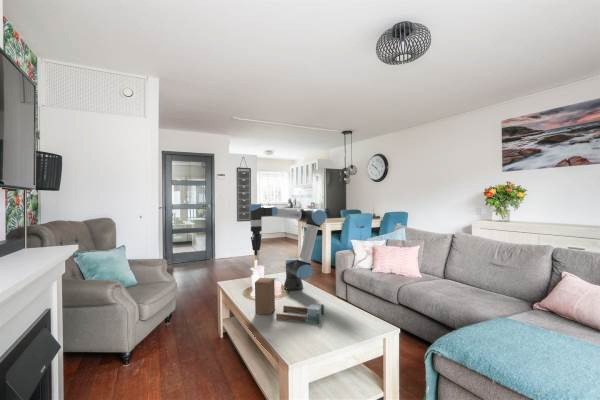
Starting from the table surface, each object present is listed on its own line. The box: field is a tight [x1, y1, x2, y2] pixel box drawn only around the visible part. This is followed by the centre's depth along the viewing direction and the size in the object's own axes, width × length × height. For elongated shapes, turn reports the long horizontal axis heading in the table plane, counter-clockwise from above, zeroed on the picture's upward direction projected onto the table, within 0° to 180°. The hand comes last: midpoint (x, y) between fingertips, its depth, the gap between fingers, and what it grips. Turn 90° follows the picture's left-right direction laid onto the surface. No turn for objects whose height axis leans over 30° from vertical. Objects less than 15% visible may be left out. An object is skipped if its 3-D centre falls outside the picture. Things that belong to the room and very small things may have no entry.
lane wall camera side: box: [275, 312, 320, 325], centre depth 166 cm, size 1×26×6 cm, turn 73°
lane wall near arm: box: [282, 303, 325, 316], centre depth 178 cm, size 1×26×6 cm, turn 73°
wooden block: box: [254, 277, 276, 316], centre depth 180 cm, size 10×10×20 cm
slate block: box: [306, 303, 322, 322], centre depth 169 cm, size 7×7×7 cm
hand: (256, 259), depth 197 cm, fingers closed
